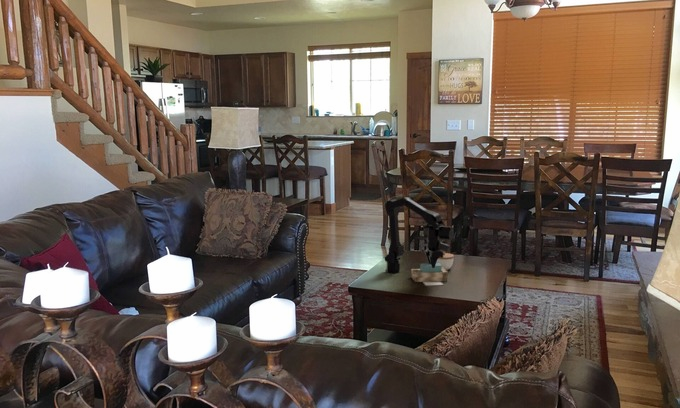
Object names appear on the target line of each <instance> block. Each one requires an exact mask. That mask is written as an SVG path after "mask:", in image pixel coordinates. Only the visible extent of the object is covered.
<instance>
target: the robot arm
mask: <svg viewBox="0 0 680 408" xmlns="http://www.w3.org/2000/svg"><path fill="white" fill-rule="evenodd" d="M403 206H404V207H406V208H407V209H409V210H411V211H412V212H414V213H415V214H416V215H419V216H420V217H421V218H422V220H424V222H426V223H427V224H426V225H425V226H423V229H427V238H426V239H425V240H426V243H424V244H423V245H422V251H424V255H425V256H426V259H427V262H428V264H431V265H432V268H435V265H436V262H437V259H438V258H439V257H443V252H445V253H448V251H449V249H450V245H449V244H447V243H446V241H445V240H448V241H452V240H453V239H454V235H455V232H454V229H453V227H452V226H446V225H445V223H444V221H443V219H442V217H441V214H439V213H438V212H436V211H433V210H429V209H427V208H426V207H424V206H422V205H420V204H419V203H417V202H415V201H414V200H413V199H411V197H407V196H405V197H402V198H400V199H396V198H395V199H391V200H387V201H386V202H385V203H384V208H385V212H386V214H387V216H388V221H389V224H388V225H389V234H390V235H389V236H390V244H389V247H388V254H387V255H386V256H384V261H385V263H386V266H385V267H386V268H385V271H386V273H387V274H396V273H397V274H400V269H401V263H400V260H401V258H403V256H404V253H405V245H404V244H402V243H401V242H400V229H399V226H400V225H399V215H400V214H399V213H400V211H401V207H403ZM441 250H442V251H441Z"/></svg>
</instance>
